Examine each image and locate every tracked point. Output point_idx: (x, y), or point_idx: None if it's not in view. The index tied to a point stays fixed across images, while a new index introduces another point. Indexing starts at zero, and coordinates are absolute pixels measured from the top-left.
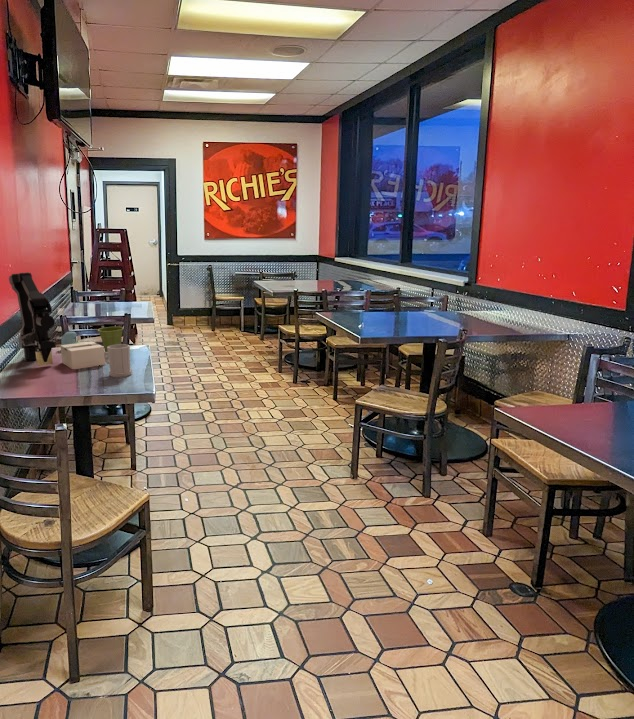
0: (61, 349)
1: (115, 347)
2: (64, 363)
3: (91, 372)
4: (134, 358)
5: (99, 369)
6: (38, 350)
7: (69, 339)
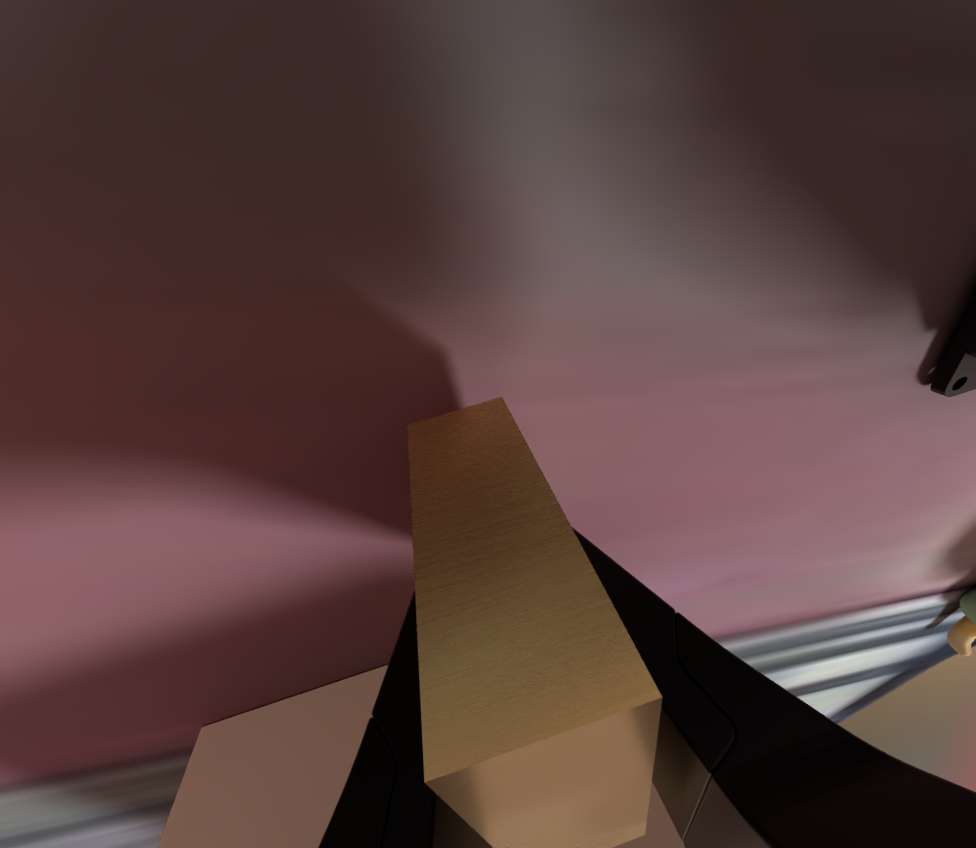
0: (649, 819)
1: None
2: None
3: (28, 844)
4: None
5: None
6: (775, 693)
7: None
